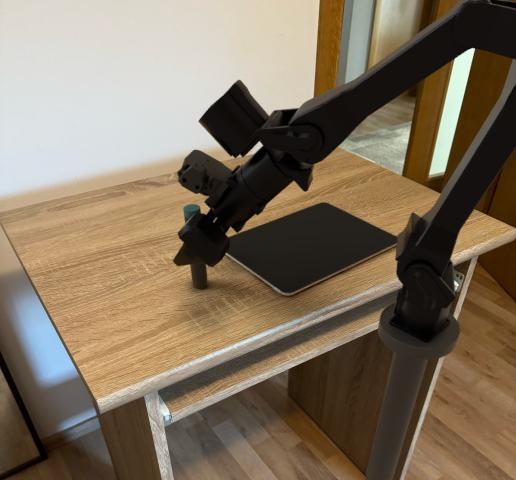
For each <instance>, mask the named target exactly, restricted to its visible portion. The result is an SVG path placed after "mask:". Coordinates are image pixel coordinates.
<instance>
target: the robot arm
mask: <svg viewBox="0 0 516 480" xmlns="http://www.w3.org/2000/svg"><path fill="white" fill-rule="evenodd" d="M472 49H475V50H478V51H484V52H488V53H491V54H495V55H497V56H502V57H504V58H505V57H506V58H507V59H512V60H511V64H510V67H509V70H508V74H507V76H506V80H505V83H504V85H503V89H502V91H501V94H500V96H499V98H498V99H497V101H496V103H495V104H494V106H493V107H492V109H491V111H490V113H489V114H488V116H487V117H486V119H485V121H484V122H483V124H482V126H481V127H480V129H479V131H478V132H477V134H476V135H475V137H474V139H473V140H472V142H471V144H470V145H469V147H468V148H467V150H466V152H465V153H464V155H463V156H462V158H461V160H460V162H458V165H457V166H456V169H455V170H454V172H453V173H452V175H451V176H450V178H449V179H448V181H447V183H446V184H445V186H444V188H443V190H442V191H441V193H440V194H439V196H438V198H437V199H436V201H435V202H434V204H433V205H432V207H431V208H430V209H429V210H427V212H426V213H424V214H423V215H421V216H420V215H418V213H415V212H413V211H412V212H411V213H410V214H409V218H408V221H407V223H406V225H405V227H404V229H402V231H401V232H399V233H398V234H397V236H396V237H397V245H396V246H395V247H396V248H395V257H394V261H395V262H396V272H395V274H396V277H397V279H398V281H399V282H400V284H402V285H401V288H400V289H398V291H397V295H396V300H395V302H394V303H395V308H394V314H396V315H395V316H394V317H393V318H391V319H390V320H389V324H390V325H392V326H394V327H396V328H398V329H400V330H402V331H404V332H406V333H408V334H410V335H412V336H414V337H415V338H417V339H419V340H421V341H423V342H425V343H429V342H430V341H431V340H432V339H434V338H435V337H436V336H437V335H438V334H439V333H440V332H441V331H443V330H444V329H445V328H446V327H447V326H448V325H449V324H450V322H451V320H450V319H448V318H447V317H448V314H449V313H450V310H451V307H452V305H453V301H455V299H456V288H455V287H456V286H455V274H454V273H455V271H454V262H453V261H452V255H453V253H454V251H455V246H456V244H457V242H458V241H457V240H458V238H459V234H460V232H461V230H462V228H463V227H464V225H465V224H466V223H467V221H468V220H469V218H470V217H471V215H472V214H473V212H474V211H475V209H476V208H477V206H478V205H479V203H480V202H481V200H482V199H483V198H484V196H485V195H486V193H487V192H488V190H489V188H490V187H491V186H492V184H493V183H494V181H495V180H496V179H497V177H498V176H499V174H500V173H501V171H502V170H503V168H504V167H505V165H506V163H508V161H509V160H510V158H511V156H512V155H513V153H514V152H515V150H516V1H514V0H458V1H457V2H456V3H455V4H454V6H453V7H451V9H449V10H448V11H447V12H446V13H444V14H443V15H441V16H440V17H438V18H437V19H436V20H434V21H433V22H432V23H430V24H429V25H427V26H426V27H425V28H423V29H422V30H420V31H419V32H418V33H416V34H415V35H414V36H413V37H411V38H410V39H408V40H407V41H405V42H404V43H403V44H402V45H400V46H399V47H397V48H395V49H394V50H393V51H391V52H390V53H389V54H387V55H386V56H385V57H383V58H382V59H381V60H379V61H377V62H376V63H375V64H374V65H373V66H371V67H370V68H368V69H366V70H365V71H364V72H363V73H361V74H359V76H357V77H356V78H354V79H353V80H350V81H348V82H346V83H343V84H341V85H339V86H336V87H333V88H329V89H328V90H326V91H324V92H322V93H320V94H318V95H316V96H314V97H312V98H310V99H308V100H306V101H304V102H303V103H302V104H301V105H300V106H299V107H295V108H294V107H293V108H283V109H282V108H281V109H275V110H273V111H272V112H271V113H270V114H268V113H267V111H266V110H265V109H264V108H263V106H261V105H260V103H259V102H258V101H257V99H256V98H254V96H253V95H252V93H251V92H250V90H249V88H248V87H247V86H246V84H245V83H244V82H243V81H242V80H241V79H237V80H236V81H234V83H232V85H231V86H230V87H229V88H228V89H227V90H226V91H225V93H223V94H222V96H220V97H218V99H217V100H215V101H214V102H213V103H212V104H211V105H210V106H209V107H208V108H207V109H206V111H205V112H203V114H202V115H201V117H200V118H199V120H198V121H197V122H198V123H199V124H200V125H201V126H202V127H203V128H204V130H206V132H207V133H208V134H209V135H210V136H211V137H212V138H213V139H214V141H216V143H217V144H219V146H220V147H221V148H222V149H223V150H224V151H225V152H226V153H227V155H228V156H229V157H233V158H234V159H237V158H238V157H239V156H241V158H245V157H246V156H247V154H249V152H251V151H252V150H253V149H254V148H255V146H257V145H258V144H259V143H260V144H261V146H260V148H259V149H257V150H256V151H255V152H254V153H253V154H252V156H250V157H249V158H248V159H247V160H246V161H245V162H244V163H241V164H237V165H236V166H235V167H234V168H233V169H231V168H229V167H228V166H226V165H225V163H223V162H222V161H220V160H219V159H217V158H214V157H213V156H211V155H209V154H208V153H206V152H205V151H202V150H200V149H193V150H191V152H190V153H188V155H186V156H185V158H183V162H182V165H181V168H180V169H178V170H177V172H176V175H177V177H178V178H177V182H178V183H179V184H180V186H181V187H182V188H184V189H185V190H187V191H190V192H191V193H193V194H194V195H198V194H200V195H202V196H205V197H206V198H205V199H204V201H203V203H204V204H205V205H206V206H207V208H209V210H208V211H207V213H202V212H201V213H195V214H194V215H193V216H192V217H191V218H190V219H189V220H188V221H187V222H186V223H185V222H184V223H183V225H182V226H181V228H180V229H179V230H178V231H177V236H178V239H179V240H180V241H181V242H182V245H181V246H180V248H179V250H178V251H177V253H176V254H175V256H174V258H173V259H172V263H174V265H176V267H182V266H183V267H184V266H190V265H191V264H198V263H205V264H206V267H208V268H214V267H215V266H217V265H218V264H219V263H220V262H222V260H223V259H224V257H226V253H227V251H228V249H229V248H230V239H229V237H230V236H228V235H227V233H228V231H229V230H230V228H231V229H232V230H233V231H234V232H235V233H236V234H238V233H240V232H242V231H243V228H244V227H245V225H246V224H247V222H249V221H250V220H251V218H253V217H254V216H255V215H256V216H259V215H261V213H263V212H264V210H265V208H266V207H267V205H268V204H269V203H270V202H271V201H272V200H274V199H275V198H276V197H277V196H278V195H279V194H280V193H282V192H283V191H284V190H285V189H286V188H287V187H288V186H290V185H291V184H293V182H294V183H295V184H296V185H297V186H298V187H299V189H301V190H302V191H303V192H304V193H306V192H308V191H309V189H310V187H311V184H312V182H313V180H314V175H313V173H314V168H315V165H317V164H318V163H321V162H323V161H324V160H325V159H327V157H329V156H330V155H331V154H332V153H333V152H334V151H335V150H336V149H338V147H339V146H341V145H342V143H344V142H345V141H346V140H347V138H348V137H349V136H350V135H351V134H352V133H353V132H354V131H355V130H356V129H357V128H358V127H359V126H360V125H361V124H362V123H363V122H364V121H365V120H366V119H367V118H368V117H370V116H371V115H372V114H374V113H376V112H377V111H379V110H380V109H382V108H383V107H385V106H386V105H387V104H389V103H390V102H392V101H394V100H395V99H396V98H398V97H399V96H401V95H402V94H404V93H405V92H407V91H409V90H410V89H412V88H414V87H415V86H416V85H418V84H419V83H420V82H422V81H424V80H425V79H427V78H429V77H430V76H431V75H432V74H434V73H435V72H437V71H439V70H440V69H442V68H443V67H445V66H446V65H448V64H449V63H451V62H452V61H454V60H455V59H457V58H458V57H460V56H461V55H463V54H465V52H468V51H470V50H472Z"/></svg>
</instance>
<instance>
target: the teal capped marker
mask: <svg viewBox="0 0 516 480" xmlns="http://www.w3.org/2000/svg"><path fill="white" fill-rule="evenodd" d="M195 213H202V210H201V205H199V204H196V203H190V204H186V205H184V206H183V217H184V218H183V219H184V224H185V223H186V222H187V221H188V220H189V219H190V218H191V217H192V216H193V215H194V214H195ZM189 266H190V274H191V280H192V281H191V282H192V286H193V288H194V289H197V290H203V289H205V288H207V287H208V283H209V282H208V269H207V265H206V264H205V263H198V264H191V265H189Z"/></svg>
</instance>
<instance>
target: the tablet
mask: <svg viewBox="0 0 516 480" xmlns="http://www.w3.org/2000/svg"><path fill="white" fill-rule="evenodd" d="M228 237H229V239H230V248H229V249H228V251H227V253H226V254H225V256H227V257H229V258H230V259H231V260H233V261H234V262H235V263H237V264H238V265H239V266H241V267H243V268H244V269H245V270H247V271H248V272H250V273H251V274H252V275H254V276H256V277H257V278H259V279H260V281H262V282H264V283H265V284H267V285H268V286H270V287H271V288H272V289H273V290H274V291H276V292H277V293H278V294H282V295H283V296H287V297H289V296H293V295H295V294H297V293H300V292H301V291H303V290H304V291H305V289H308V288H309V287H313V286H314V285H316V284H319V283H321V282H322V281H325V280H327V279H329V278H331V277H333V276H335V275H338V274H339V273H341V272H344V271H346V270H348V269H350V268H352V267H354V266H356V265H358V264H361V263H363V262H365V261H367V260H369V259H371V258H373V257H375V256H377V255H379V254H381V253H383V252H386V251H388V250H390V249H392V248H393V247H394V248H395V247H397V237H398V236H396V235H394V234H392V233H390V232H389V231H386V230H384V229H383V228H380V227H378V226H376V225H374V224H372V223H369V221H365V220H363V218H362V219H361V218H359V217H358V216H356V215H353V214H351V213H350V212H348V211H345V210H343V209H341V208H339V207H336V206H335V205H333V204H331V203H329V202H318V203H316V204H313V205H310V206H308V207H305V208H302V209H300V210H296V211H295V212H291V213H289V214H286V215H283V216H281V217H278V218H276V219H273V220H270V221H267V222H265V223H262V224H259V225H256V226H254V227H251V228H249V229H246V230H242V231H239V232H238V233H236V234H235V233H234V234H233V235H230V236H228Z"/></svg>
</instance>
